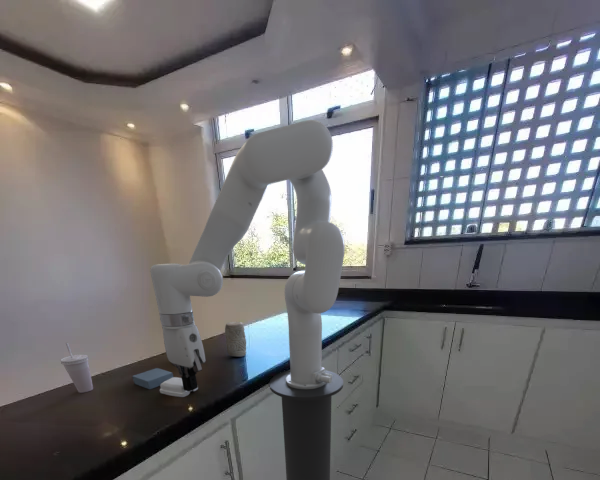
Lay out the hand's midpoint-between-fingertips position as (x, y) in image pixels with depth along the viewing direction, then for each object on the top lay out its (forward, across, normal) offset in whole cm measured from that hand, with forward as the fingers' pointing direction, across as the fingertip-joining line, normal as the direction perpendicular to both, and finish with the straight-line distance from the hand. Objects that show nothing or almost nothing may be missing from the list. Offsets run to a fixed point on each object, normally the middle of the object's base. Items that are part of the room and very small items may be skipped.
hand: (191, 388), depth 82 cm
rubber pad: (+2, +18, 0) cm, 18 cm away
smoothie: (+2, +30, +14) cm, 33 cm away
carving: (+2, +14, -31) cm, 34 cm away
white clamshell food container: (+2, +6, 0) cm, 6 cm away
